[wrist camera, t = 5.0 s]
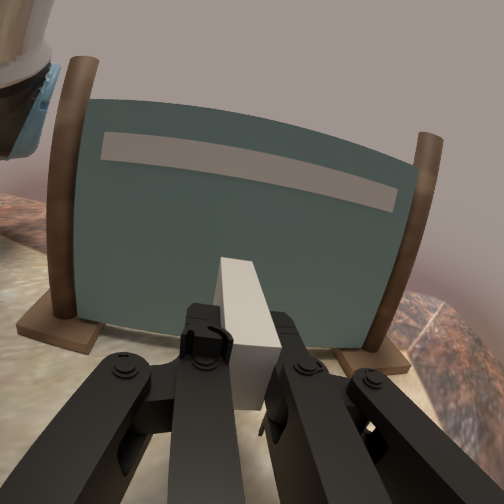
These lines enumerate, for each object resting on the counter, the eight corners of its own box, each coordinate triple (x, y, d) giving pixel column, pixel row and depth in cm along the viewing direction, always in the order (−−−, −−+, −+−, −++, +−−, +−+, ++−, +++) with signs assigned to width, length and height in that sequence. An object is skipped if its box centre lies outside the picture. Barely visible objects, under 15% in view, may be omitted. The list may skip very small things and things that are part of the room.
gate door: (77, 317, 17) (88, 98, 12) (86, 305, 18) (99, 103, 14) (361, 348, 20) (419, 168, 16) (353, 336, 22) (405, 166, 18)
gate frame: (18, 333, 14) (25, 53, 9) (52, 295, 20) (67, 73, 14) (407, 372, 19) (482, 153, 14) (376, 334, 25) (432, 148, 20)
